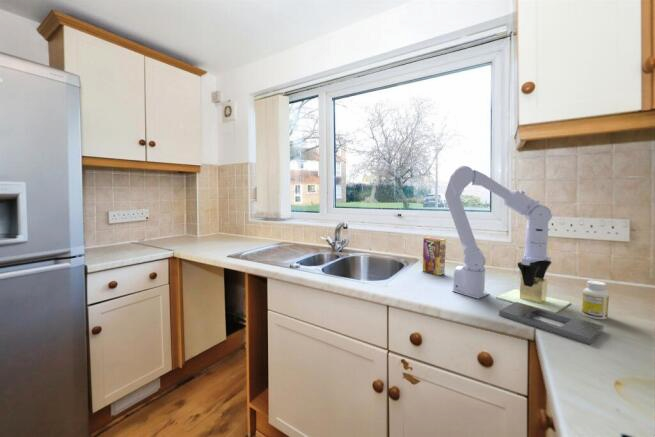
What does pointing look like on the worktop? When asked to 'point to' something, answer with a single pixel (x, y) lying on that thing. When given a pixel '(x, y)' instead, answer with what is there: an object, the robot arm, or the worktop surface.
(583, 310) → the supplement bottle
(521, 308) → the iron frame
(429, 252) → the candy box
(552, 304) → the sage mat
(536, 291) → the tan rectangular block
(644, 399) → the worktop surface
